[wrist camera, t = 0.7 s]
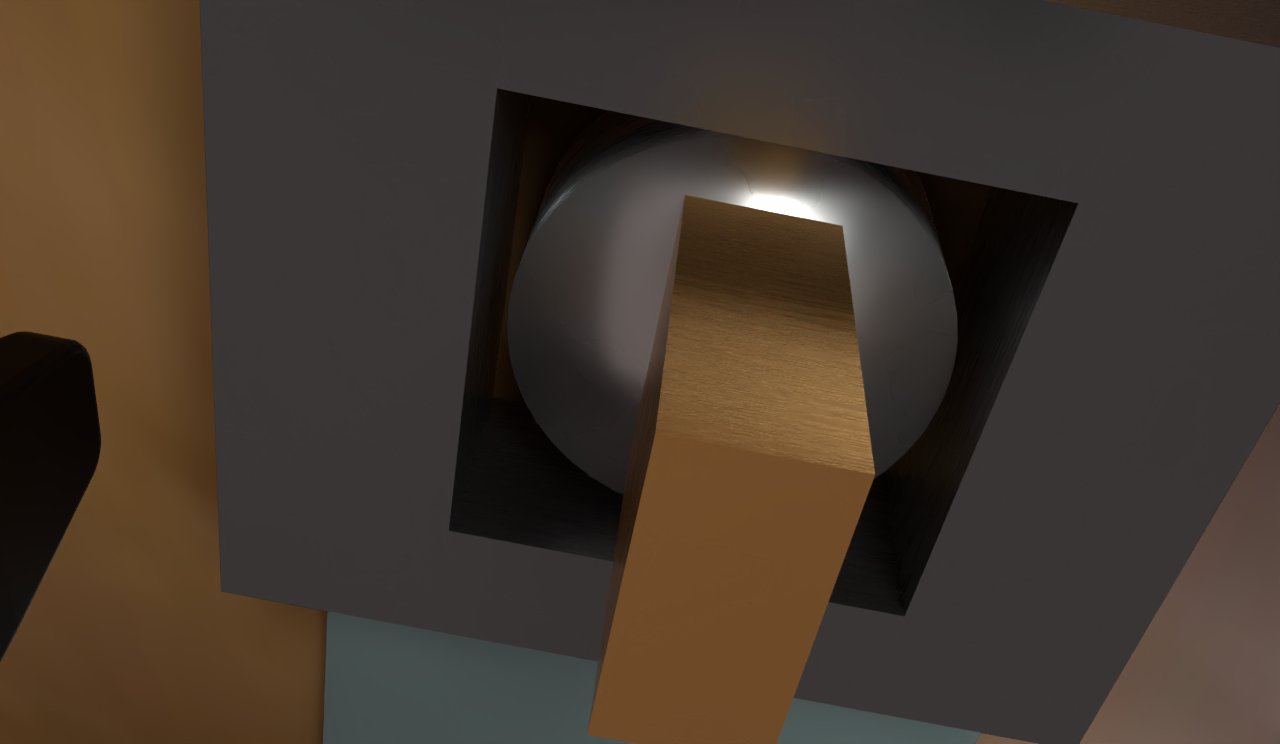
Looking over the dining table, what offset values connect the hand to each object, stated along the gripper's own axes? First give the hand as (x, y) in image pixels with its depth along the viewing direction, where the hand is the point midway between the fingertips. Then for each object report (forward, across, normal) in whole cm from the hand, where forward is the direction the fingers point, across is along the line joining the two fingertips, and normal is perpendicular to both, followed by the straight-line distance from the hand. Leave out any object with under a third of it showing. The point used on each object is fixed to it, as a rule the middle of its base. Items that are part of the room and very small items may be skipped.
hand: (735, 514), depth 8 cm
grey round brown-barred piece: (+13, 0, +5) cm, 14 cm away
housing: (+13, 0, +5) cm, 14 cm away
